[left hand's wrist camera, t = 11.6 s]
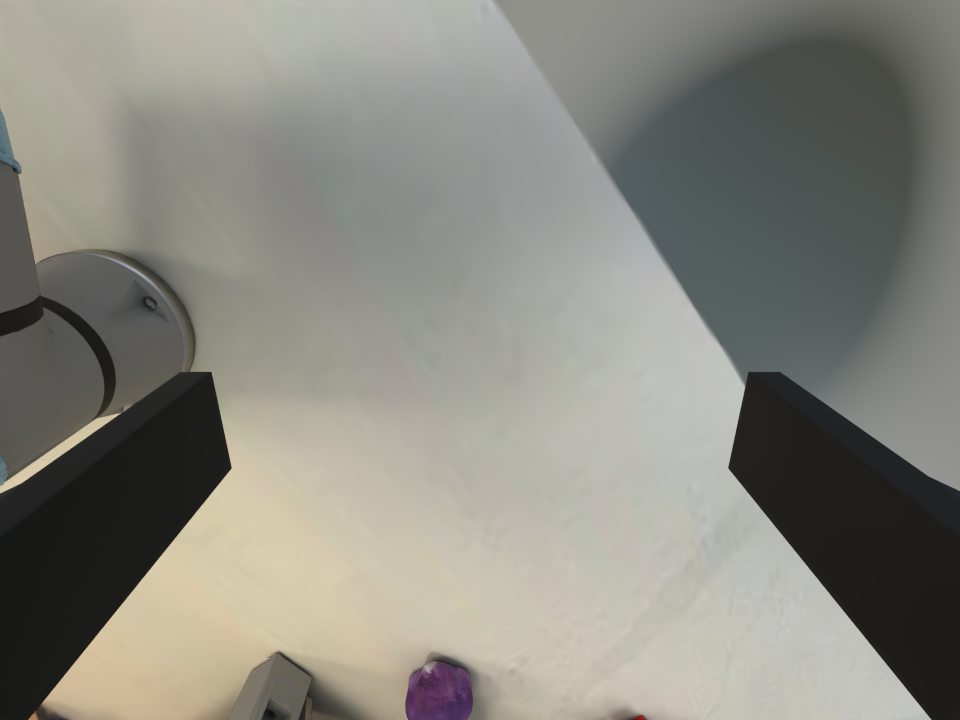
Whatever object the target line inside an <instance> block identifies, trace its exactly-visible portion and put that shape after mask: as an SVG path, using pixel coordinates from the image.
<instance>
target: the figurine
mask: <svg viewBox="0 0 960 720" xmlns="http://www.w3.org/2000/svg"><path fill="white" fill-rule="evenodd" d="M471 688H472V686H471V678H470V674H469V672H467V671H466V669H463V668H460V667H459V668H458V667H455V666H452V665H450V664H446V663H443V662H437V661H432V662H427V663H426V664H425V665H424V666H423V669H421V670H419V671H417V672H415V673H413V674H412V675H411V676H410V678H409V687H408V692H407V697H406V703H405V708H406V715H407V718H408V720H467V719H468V717H469V716H470V714H471V711H472V705H473V697H472V689H471Z"/></svg>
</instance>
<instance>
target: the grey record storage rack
mask: <svg viewBox="0 0 960 720" xmlns="http://www.w3.org/2000/svg"><path fill="white" fill-rule="evenodd" d="M267 658H272V659H270V660H269V661H267V662H265V663H264V664H262V665H261V666H259V667H258V668H256V669H254V670H253V671H251V672H250V674H249V676H248V678H247V680H246V682H245V684H244V687H243V689H242V691H241V693H240V695H239V697H238V699H237V701H236V703H235V705H234V707H233V709H232V711H231V713H230V715H229V717H228V719H227V720H311V710H312V701H313V699H311V698H309V697H306V695H307V692H308V689H309V686H310V683H311V680H312V677H310V676H309V675H307V674H306V673H304V672H303V671H301V670H300V669H299V668H297V667H296V666H294V665H293V664H291V663H290V662H289V661H287V660H286V659H284V658H283V657H282V656H281V655H280V654H275V655H272V656H270V657H267ZM305 698H306V699H305ZM304 701H305V702H304Z"/></svg>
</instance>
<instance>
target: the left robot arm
mask: <svg viewBox="0 0 960 720" xmlns="http://www.w3.org/2000/svg"><path fill="white" fill-rule="evenodd" d="M20 173H21V167H20V164H19V163H18V162H17V161H16V160H15V159H14V156H13V152H12V148H11V144H10V139H9V135H8V131H7V127H6V123H5V119H4V116H3V114H2V111H1V109H0V486H1V485H3V483H4V482H6V481H7V480H9V479H10V478H11V477H13V476H14V475H16V474H17V473H19V472H20V471H21V470H23V469H24V468H26V467H27V466H29V465H30V464H31V463H33V462H34V461H36V460H37V459H39V458H40V457H42V456H43V455H44V454H46V453H47V452H49V451H50V450H52V449H53V448H54V447H56V446H57V445H59V444H60V443H62V442H63V441H65V440H66V439H67V438H69V437H70V436H72V435H73V434H75V433H76V432H77V431H79V430H80V429H82V428H83V427H85V426H86V425H87V424H89V423H90V422H92V421H93V420H95V419H96V418H100V417H105V416H109V415H113V414H117V413H121V414H120V415H118V416H117V417H115V418H114V419H113V420H111V421H110V422H108V423H107V424H105V425H104V426H103V427H101V428H100V429H98V430H97V431H96V432H94V433H93V434H91V435H90V436H88V437H87V438H86V439H84V440H83V441H81V442H80V443H78V444H77V445H76V446H74V447H73V448H71V449H70V450H69V451H67V452H66V453H64V454H63V455H61V456H60V457H59V458H57V459H56V460H54V461H53V462H51V463H50V464H49V465H47V466H46V467H44V468H43V469H42V470H40V471H39V472H37V473H36V474H34V475H33V476H32V477H30V478H29V479H27V480H26V481H24V482H23V483H21V484H19V485H17V486H15V487H13V488H11V489H9V490H7V491H5V492H3V493H1V494H0V720H29V718H30V717H31V716H32V715H33V713H34V712H35V711H36V710H37V708H38V707H39V706H40V705H41V704H42V702H43V701H44V700H45V699H46V697H47V696H48V695H49V694H50V692H51V691H52V690H53V689H54V687H55V686H56V685H57V684H58V682H59V681H60V680H61V679H62V678H63V676H64V675H65V674H66V673H67V671H68V670H69V669H70V668H71V666H72V665H73V664H74V663H75V661H76V660H77V659H78V658H79V656H80V655H81V654H82V653H83V652H84V650H85V649H86V648H87V647H88V645H89V644H90V643H91V642H92V640H93V639H94V638H95V637H96V635H97V634H98V633H99V632H100V631H101V629H102V628H103V627H104V626H105V624H106V623H107V622H108V621H109V619H110V618H111V617H112V616H113V614H114V613H115V612H116V611H117V609H118V608H119V607H120V606H121V605H122V603H123V602H124V601H125V600H126V598H127V597H128V596H129V595H130V593H131V592H132V591H133V590H134V588H135V587H136V586H137V585H138V583H139V582H140V581H141V580H142V579H143V577H144V576H145V575H146V574H147V572H148V571H149V570H150V569H151V567H152V566H153V565H154V564H155V562H156V561H157V560H158V559H159V557H160V556H161V555H162V554H163V553H164V551H165V550H166V549H167V548H168V546H169V545H170V544H171V543H172V541H173V540H174V539H175V538H176V536H177V535H178V534H179V533H180V532H181V530H182V529H183V528H184V527H185V525H186V524H187V523H188V522H189V520H190V519H191V518H192V517H193V515H194V514H195V513H196V512H197V510H198V509H199V508H200V507H201V506H202V504H203V503H204V502H205V501H206V499H207V498H208V497H209V496H210V494H211V493H212V492H213V491H214V489H215V488H216V487H217V486H218V484H219V483H220V482H221V481H222V480H223V478H224V477H225V476H226V475H227V473H228V472H229V471H230V470H231V468H232V467H231V463H230V458H229V453H228V448H227V444H226V439H225V434H224V429H223V425H222V420H221V415H220V410H219V406H218V401H217V396H216V391H215V387H214V382H213V377H212V372H188V371H189V369H190V367H191V364H192V360H193V356H194V335H193V330H192V326H191V323H190V320H189V317H188V315H187V313H186V311H185V309H184V307H183V305H182V303H181V302H180V300H179V299H178V297H177V296H176V294H175V293H174V292H173V291H172V289H171V288H170V287H169V286H168V285H167V284H166V283H165V282H164V281H163V280H162V279H161V278H160V277H159V276H157V275H156V274H155V273H154V272H152V271H151V270H149V269H148V268H147V267H145V266H143V265H142V264H140V263H138V262H136V261H134V260H132V259H130V258H128V257H125V256H123V255H120V254H116V253H113V252H108V251H103V250H89V249H87V250H77V251H72V252H67V253H63V254H58V255H55V256H51V257H48V258H46V259H44V260H42V261H40V262H38V263H37V264H35V260H34V255H33V250H32V245H31V239H30V234H29V229H28V224H27V218H26V213H25V208H24V203H23V197H22V192H21V187H20V182H19V176H18V174H20ZM728 468H729V470H730V471H731V472H732V473H733V475H734V476H735V477H736V478H737V480H738V481H739V482H740V483H741V484H742V486H743V487H744V488H745V489H746V491H747V492H748V493H749V494H750V496H751V497H752V498H753V499H754V501H755V502H756V503H757V504H758V506H759V507H760V508H761V509H762V510H763V512H764V513H765V514H766V515H767V517H768V518H769V519H770V520H771V522H772V523H773V524H774V525H775V527H776V528H777V529H778V530H779V532H780V533H781V534H782V535H783V536H784V538H785V539H786V540H787V541H788V543H789V544H790V545H791V546H792V548H793V549H794V550H795V551H796V553H797V554H798V555H799V556H800V557H801V559H802V560H803V561H804V562H805V564H806V565H807V566H808V567H809V569H810V570H811V571H812V572H813V574H814V575H815V576H816V577H817V579H818V580H819V581H820V582H821V583H822V585H823V586H824V587H825V588H826V590H827V591H828V592H829V593H830V595H831V596H832V597H833V598H834V600H835V601H836V602H837V603H838V605H839V606H840V607H841V608H842V609H843V611H844V612H845V613H846V614H847V616H848V617H849V618H850V619H851V621H852V622H853V623H854V624H855V626H856V627H857V628H858V629H859V631H860V632H861V633H862V634H863V635H864V637H865V638H866V639H867V640H868V642H869V643H870V644H871V645H872V647H873V648H874V649H875V650H876V652H877V653H878V654H879V655H880V656H881V658H882V659H883V660H884V661H885V663H886V664H887V665H888V666H889V668H890V669H891V670H892V671H893V673H894V674H895V675H896V676H897V678H898V679H899V680H900V681H901V682H902V684H903V685H904V686H905V687H906V689H907V690H908V691H909V692H910V694H911V695H912V696H913V697H914V699H915V700H916V701H917V702H918V704H919V705H920V706H921V707H922V708H923V710H924V711H925V712H926V713H927V715H928V716H929V717H930V718H931V720H960V491H958V490H956V489H954V488H952V487H949V486H947V485H945V484H943V483H941V482H939V481H937V480H935V479H933V478H931V477H928V476H927V475H926V474H924V473H923V472H921V471H920V470H918V469H917V468H916V467H914V466H913V465H911V464H910V463H909V462H907V461H906V460H904V459H903V458H901V457H900V456H899V455H897V454H896V453H894V452H893V451H891V450H890V449H889V448H887V447H886V446H884V445H883V444H882V443H880V442H879V441H877V440H876V439H874V438H873V437H872V436H870V435H869V434H867V433H866V432H864V431H863V430H862V429H860V428H859V427H857V426H856V425H855V424H853V423H852V422H850V421H849V420H847V419H846V418H845V417H843V416H842V415H840V414H839V413H837V412H836V411H835V410H833V409H832V408H830V407H829V406H828V405H826V404H825V403H823V402H822V401H820V400H819V399H818V398H816V397H815V396H813V395H812V394H810V393H809V392H808V391H806V390H805V389H803V388H802V387H800V386H799V385H798V384H796V383H795V382H793V381H792V380H791V379H789V378H788V377H786V376H785V375H783V374H782V373H781V372H749V373H748V377H747V382H746V387H745V391H744V396H743V401H742V406H741V410H740V415H739V420H738V425H737V429H736V434H735V439H734V444H733V448H732V453H731V458H730V463H729V467H728Z"/></svg>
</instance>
